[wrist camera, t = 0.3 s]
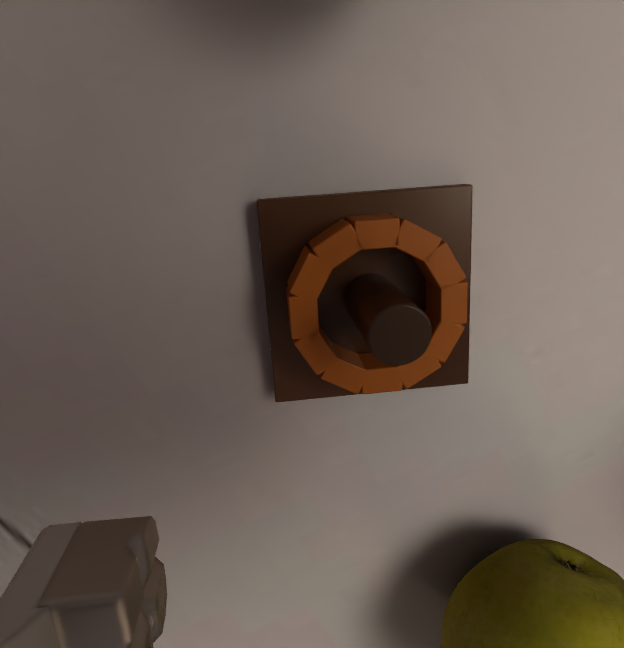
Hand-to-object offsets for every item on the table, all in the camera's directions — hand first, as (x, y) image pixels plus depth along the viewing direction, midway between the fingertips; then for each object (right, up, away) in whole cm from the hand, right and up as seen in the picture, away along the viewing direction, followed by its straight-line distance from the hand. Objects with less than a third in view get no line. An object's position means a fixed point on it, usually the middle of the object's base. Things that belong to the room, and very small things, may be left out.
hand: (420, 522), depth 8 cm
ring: (+1, +4, +12) cm, 13 cm away
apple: (+7, -9, +18) cm, 22 cm away
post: (0, +4, +13) cm, 14 cm away
